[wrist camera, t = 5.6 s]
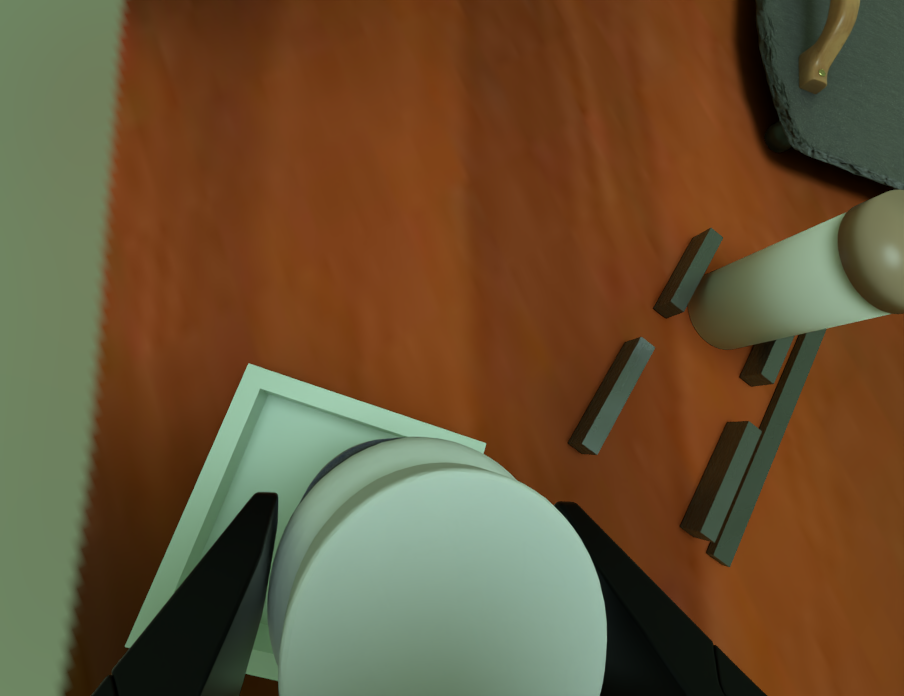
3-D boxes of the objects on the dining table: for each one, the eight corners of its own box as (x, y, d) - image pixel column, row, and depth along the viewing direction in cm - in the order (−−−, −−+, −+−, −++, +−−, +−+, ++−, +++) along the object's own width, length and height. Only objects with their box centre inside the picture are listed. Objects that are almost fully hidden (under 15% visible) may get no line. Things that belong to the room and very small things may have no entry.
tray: (400, 671, 21) (410, 710, 18) (157, 614, 19) (124, 647, 16) (467, 442, 23) (486, 443, 21) (260, 373, 22) (248, 363, 19)
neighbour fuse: (750, 363, 29) (961, 324, 19) (680, 334, 28) (864, 278, 18) (760, 289, 30) (962, 218, 20) (693, 259, 29) (872, 170, 20)
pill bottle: (257, 560, 15) (114, 769, 5) (361, 408, 16) (398, 352, 7) (409, 652, 15) (534, 997, 6) (494, 494, 17) (699, 554, 7)
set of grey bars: (722, 564, 26) (745, 572, 24) (564, 447, 25) (579, 448, 23) (818, 330, 31) (842, 325, 29) (691, 225, 30) (709, 214, 28)
